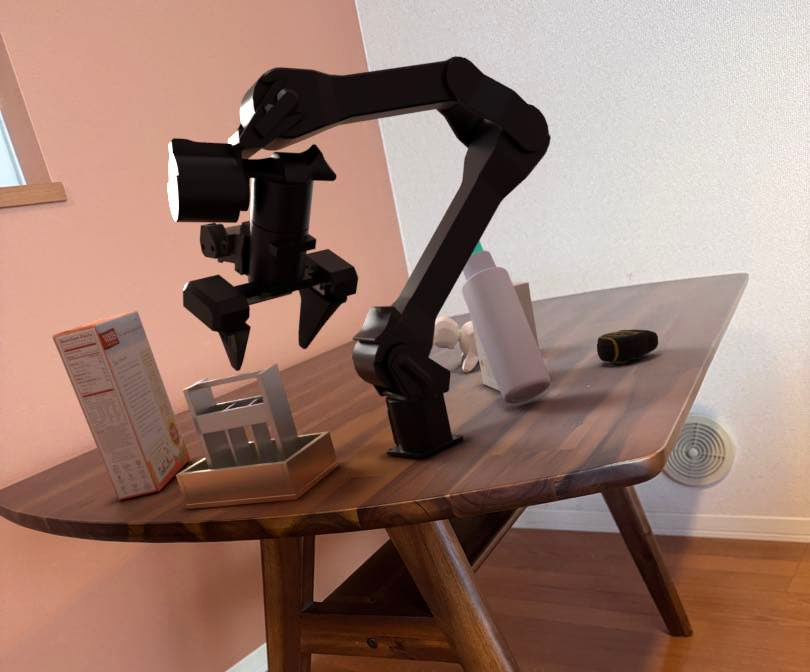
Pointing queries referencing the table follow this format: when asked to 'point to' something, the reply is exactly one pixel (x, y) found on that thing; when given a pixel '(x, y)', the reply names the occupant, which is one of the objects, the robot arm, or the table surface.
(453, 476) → the table surface
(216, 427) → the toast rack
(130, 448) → the cracker box
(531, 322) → the small box
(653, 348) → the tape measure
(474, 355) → the beige lumpy shape
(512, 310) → the spray bottle
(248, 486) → the copper metal tray
